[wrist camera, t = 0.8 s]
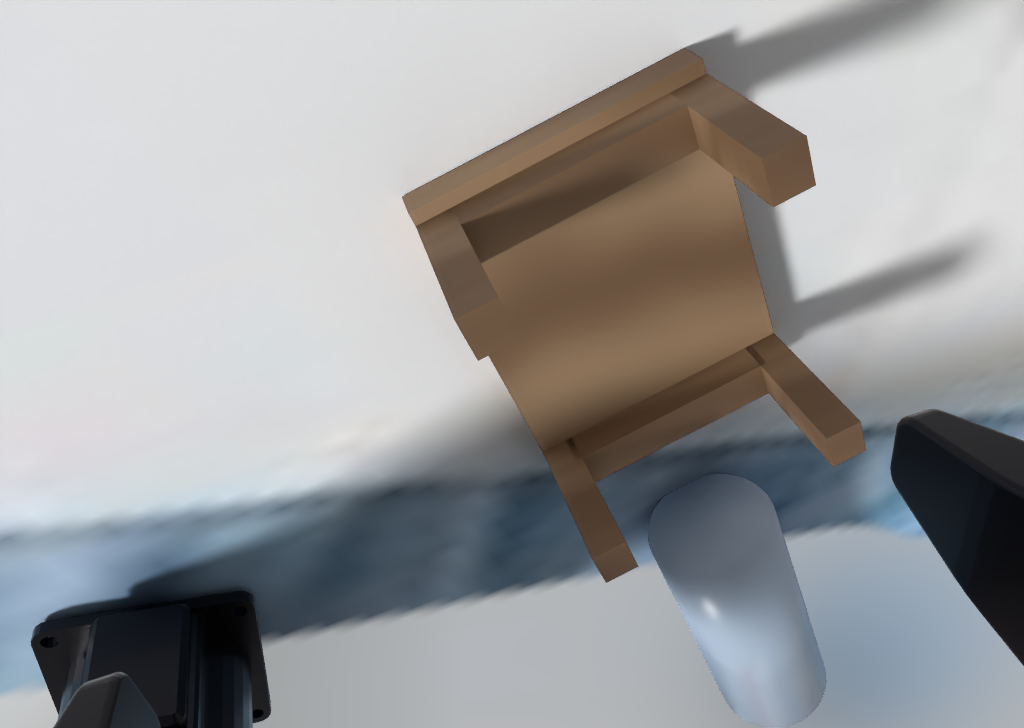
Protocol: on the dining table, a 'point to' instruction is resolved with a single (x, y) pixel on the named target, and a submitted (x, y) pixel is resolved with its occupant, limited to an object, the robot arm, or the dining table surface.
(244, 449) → the dining table surface
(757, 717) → the cylinder
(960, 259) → the dining table surface
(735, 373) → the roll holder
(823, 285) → the dining table surface
